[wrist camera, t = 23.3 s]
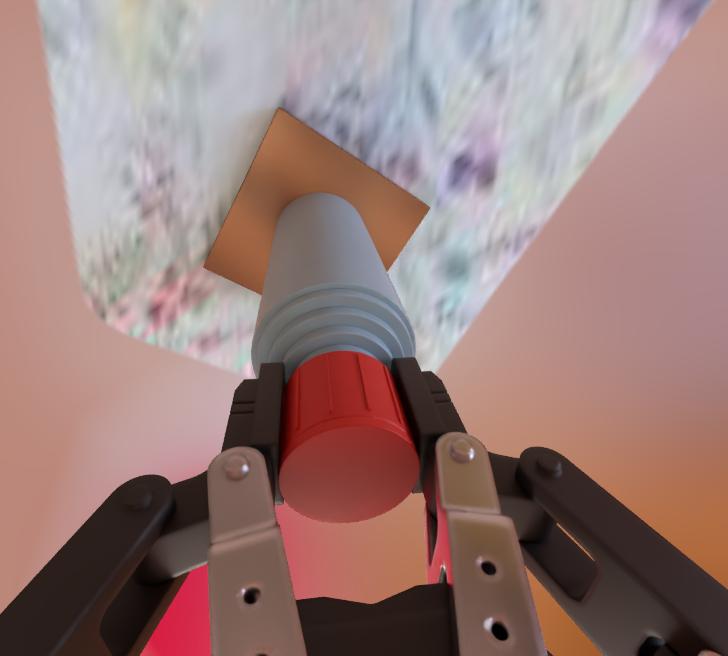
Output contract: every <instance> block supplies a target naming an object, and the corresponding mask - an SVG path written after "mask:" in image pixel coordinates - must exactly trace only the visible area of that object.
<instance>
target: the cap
mask: <svg viewBox="0 0 728 656" xmlns="http://www.w3.org/2000/svg"><path fill="white" fill-rule="evenodd" d="M419 474H420V459H419V456H418V453H417V450H416V447H415V442H414V439H413V436H412V433H411V430H410V427H409V424H408V421H407V418H406V415H405V411H404V408H403V405H402V402H401V399H400V396H399V393H398V390H397V387H396V383H395V380H394V378H393V376H392V374H391V372H390V371H389V370H388V368H387V367H386V366H385V365H384V364H382V363H381V362H380V361H379V360H377V359H375V358H373V357H371V356H369V355H366V354H364V353H360V352H355V351H333V352H328V353H324V354H321V355H318V356H316V357H313V358H311V359H310V360H308V361H306V362H305V363H304V364H302V365H301V366H300V367H298V368H297V369H296V371H295V372H294V373H293V374H292V376H291V377H290V378H289V380H288V382H287V384H286V387H285V390H284V401H283V419H282V436H281V455H280V466H279V471H278V486H279V490H280V493H281V495H282V497H283V498H284V500H285V502H286V503H287V504H288V505H289V506H290V507H291V508H293V509H294V510H295V511H296V512H298V513H300V514H301V515H303V516H306V517H308V518H311V519H314V520H317V521H322V522H328V523H351V522H359V521H363V520H367V519H371V518H374V517H376V516H379V515H381V514H383V513H386V512H388V511H389V510H391V509H392V508H394V507H396V506H397V505H398V504H399V503H401V502H402V501H403V500H404V499H405V498H406V497H407V496H408V495H409V494H410V493H411V492H412V490H413V489H414V487H415V485H416V483H417V481H418V478H419Z"/></svg>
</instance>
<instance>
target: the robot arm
mask: <svg viewBox="0 0 728 656" xmlns="http://www.w3.org/2000/svg"><path fill="white" fill-rule="evenodd" d="M390 372H391V374H392V376H393V378H394V380H395V383H396V387H397V390H398V393H399V396H400V399H401V402H402V405H403V408H404V411H405V415H406V418H407V421H408V424H409V427H410V430H411V433H412V436H413V439H414V442H415V447H416V450H417V453H418V456H419V459H420V474H419V478H418V481H417V483H416V485H415V487H414V489H413V490H412V493H423V494H424V497H425V501H426V503H425V509H424V523H425V524H424V525H425V548H426V571H427V582H426V585H418V586H414V587H413V588H410V589H408V590H405V591H403V592H401V593H398V594H396V595H394V596H391V597H389V598H387V599H385V600H383V601H380V602H378V603H375V604H365V603H360V602H353V601H347V600H341V599H334V598H329V597H318V598H310V599H301V600H295V595H294V591H293V585H292V581H291V576H290V571H289V567H288V561H287V557H286V552H285V547H284V542H283V537H282V533H281V529H280V525H279V524H278V522H277V517H276V512H275V505H282V504H284V498H283V497H282V495H281V493H280V490H279V486H278V471H279V466H280V455H281V436H282V419H283V401H284V390H285V387H286V379H285V365H284V362H277V363H261V365H260V372H259V378H258V379H246V380H243V382H242V383H241V384H240V385H239V386H238V388H237V389H236V390H235V393H234V397H233V402H232V406H231V411H230V415H229V420H228V424H227V429H226V433H225V437H224V443H223V446H222V451H221V453H220V454H219V455H217V456H216V457H215V458H214V459H213V460H212V462H211V463H210V465H209V467H208V470H206V471H205V472H203V473H202V474H200V475H198V476H196V477H193V478H190V479H187V480H184V481H181V482H178V483H175V484H172V485H171V484H170V482H169V481H168V480H167V479H166V478H165V477H162V476H159V475H143V476H139V477H136V478H134V479H131V480H129V481H127V482H126V483H124V484H122V485H121V486H120V487H118V488H117V489H116V490H115V491H114V492H113V493H112V494H111V495H110V496H109V497H108V498H107V499H106V500H105V501H104V503H103V504H102V505H101V506H100V507H99V508H98V509H97V510H96V511H95V512H94V513H93V514H92V516H91V517H90V518H89V519H88V520H87V521H86V522H85V523H84V524H83V525H82V526H81V527H80V529H79V530H78V531H77V532H76V533H75V534H74V535H73V536H72V537H71V538H70V539H69V540H68V541H67V543H66V544H65V545H64V546H63V547H62V548H61V549H60V550H59V551H58V552H57V553H56V554H55V556H54V557H53V558H52V559H51V560H50V561H49V562H48V563H47V564H46V565H45V566H44V567H43V569H42V570H41V571H40V572H39V573H38V574H37V575H36V576H35V577H34V578H33V579H32V581H31V582H30V583H29V584H28V585H27V586H26V587H25V588H24V589H23V590H22V591H21V592H20V593H19V595H18V596H17V597H16V598H15V599H14V600H13V601H12V602H11V603H10V604H9V605H8V606H7V608H6V609H5V610H4V611H3V612H2V613H1V614H0V656H140V654H141V652H142V651H143V649H144V647H145V646H146V644H147V642H148V641H149V639H150V637H151V636H152V634H153V632H154V631H155V629H156V628H157V626H158V624H159V622H160V621H161V619H162V618H163V616H164V614H165V613H166V611H167V609H168V607H169V606H170V604H171V603H172V601H173V599H174V598H175V596H176V594H177V593H178V591H179V589H180V587H181V586H182V584H183V583H184V581H185V579H186V578H187V576H188V574H189V572H190V571H191V570H193V569H196V568H198V567H201V566H203V565H205V564H208V585H209V610H210V636H211V656H553V655H552V654H551V653H550V652H549V651H547V650H546V647H545V643H544V639H543V635H542V631H541V627H540V623H539V620H538V616H537V612H536V608H535V604H534V600H533V596H532V592H531V588H530V584H529V580H528V576H527V572H526V568H525V566H526V567H527V568H528V569H529V570H530V571H531V572H532V574H533V575H534V576H535V577H536V578H537V580H538V581H539V582H540V583H541V584H542V585H543V586H544V588H545V589H546V590H547V591H548V592H549V593H550V594H551V596H552V597H553V598H554V599H555V600H556V602H557V603H558V604H559V605H560V606H561V607H562V608H563V609H564V611H565V612H566V613H567V614H568V615H569V616H570V618H571V619H572V620H573V621H574V622H575V623H576V625H577V626H578V627H579V628H580V629H581V630H582V631H583V633H584V634H585V635H586V636H587V637H588V638H589V639H590V641H591V642H592V643H593V644H594V645H595V646H596V647H597V649H598V650H599V651H600V652H601V653H602V654H603V656H728V590H727V589H726V588H725V587H724V586H722V585H721V584H720V583H719V582H718V581H716V580H715V579H714V578H713V577H711V576H710V575H709V574H708V573H706V572H705V571H704V570H703V569H702V568H700V567H699V566H698V565H697V564H696V563H694V562H693V561H692V560H691V559H689V558H688V557H687V556H686V555H684V554H683V553H682V552H681V551H680V550H678V549H677V548H676V547H675V546H673V545H672V544H671V543H670V542H668V541H667V540H666V539H665V538H664V537H662V536H661V535H660V534H659V533H657V532H656V531H655V530H654V529H652V528H651V527H650V526H648V524H646V523H645V522H644V521H643V520H641V519H640V518H639V517H638V516H637V515H635V514H634V513H633V512H632V511H630V510H629V509H628V508H627V507H625V506H624V505H623V504H622V503H621V502H619V501H618V500H617V499H616V498H614V497H613V496H612V495H611V494H610V493H608V492H607V491H606V490H605V489H603V488H602V487H601V486H600V485H598V484H597V483H596V482H595V481H594V480H592V479H591V478H590V477H589V476H587V475H586V474H585V473H584V472H582V471H581V470H580V469H578V467H576V466H575V465H574V464H573V463H571V462H570V461H569V460H568V459H567V458H565V457H564V456H562V455H561V454H559V453H558V452H556V451H553V450H551V449H548V448H544V447H530V448H527V449H525V450H524V451H523V452H522V453H521V455H520V458H513V457H508V456H503V455H498V454H494V453H491V452H488V451H487V449H486V448H485V446H484V445H483V444H482V442H480V441H479V440H478V439H476V438H475V437H473V436H471V435H469V434H468V433H467V431H466V429H465V427H464V425H463V423H462V421H461V419H460V417H459V415H458V413H457V411H456V409H455V407H454V405H453V403H452V402H451V399H450V397H449V395H448V393H447V390H446V388H445V386H444V384H443V382H442V380H441V379H439V378H438V377H437V376H436V375H435V374H434V373H432V372H431V371H424V372H421V369H420V367H419V365H418V362H417V360H416V358H415V357H404V358H392V361H391V371H390ZM557 523H558V524H559V525H560V526H561V527H562V528H563V529H565V530H566V531H567V532H568V533H569V534H570V535H571V536H572V537H573V538H574V539H575V540H576V541H577V542H578V543H579V544H580V545H581V546H582V547H583V548H584V549H585V550H586V551H587V552H588V553H589V554H590V555H591V557H592V558H593V559H594V561H595V562H594V561H593V560H592V559H591V558H590V557H589V556H588V555H587V554H586V553H585V552H584V551H583V550H582V549H581V548H580V547H579V546H578V545H577V544H576V543H575V542H574V541H573V540H572V539H571V538H570V537H569V536H568V535H566V533H564V532H563V530H561V528H559V527H558V526H557Z"/></svg>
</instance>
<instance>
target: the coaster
mask: <svg viewBox="0 0 728 656" xmlns="http://www.w3.org/2000/svg"><path fill="white" fill-rule="evenodd" d="M319 192H322V193H329V194H334V195H336V196H339V197H341V198H343V199H345V200H346V201H347V202H349V203H350V204H351V205H352V206H353V207H354V208H355V209H356V210H357V211H358V213H359V214H360V216H361V218H362V220H363V222H364V224H365V227H366V229H367V231H368V233H369V235H370V237H371V239H372V241H373V244H374V246H375V248H376V250H377V252H378V254H379V256H380V259H381V261H382V263H383V265H384V267H385V269H386V271H388V270H389V268H390V267H391V266H392V264H393V263H394V261H395V260H396V258H397V257H398V255H399V254H400V252H401V251H402V249H403V248H404V246H405V245H406V243H407V242H408V240H409V239H410V237H411V236H412V234H413V233H414V231H415V230H416V229H417V227H418V226H419V224H420V223H421V221H422V220H423V218H424V217H425V215H426V214H427V212H428V211H429V209H430V207H429V206H428V205H426V204H425V203H423V202H421V201H420V200H418V199H417V198H415V197H414V196H412V195H411V194H409V193H408V192H406V191H405V190H403V189H402V188H400V187H399V186H397V185H396V184H394V183H393V182H391V181H390V180H388V179H387V178H385V177H384V176H382V175H381V174H379V173H378V172H376V171H375V170H373V169H372V168H370V167H369V166H367V165H366V164H364V163H363V162H361V161H360V160H358V159H357V158H355V157H354V156H352V155H351V154H349V153H348V152H346V151H345V150H343V149H342V148H340V147H339V146H337V145H336V144H334V143H333V142H331V141H330V140H328V139H327V138H325V137H324V136H322V135H321V134H319V133H318V132H316V131H315V130H313V129H312V128H310V127H309V126H307V125H306V124H304V123H303V122H301V121H300V120H298V119H297V118H295V117H294V116H292V115H291V114H289V113H288V112H286V111H285V110H283V109H282V108H280V107H279V108H278V110H277V112H276V114H275V116H274V118H273V120H272V122H271V124H270V127H269V129H268V131H267V133H266V135H265V137H264V139H263V141H262V143H261V146H260V148H259V150H258V152H257V154H256V156H255V158H254V160H253V163H252V165H251V167H250V169H249V171H248V173H247V175H246V177H245V179H244V182H243V184H242V186H241V188H240V190H239V192H238V194H237V196H236V199H235V201H234V203H233V205H232V207H231V209H230V211H229V213H228V216H227V218H226V220H225V222H224V224H223V226H222V228H221V230H220V232H219V235H218V237H217V239H216V241H215V243H214V245H213V247H212V249H211V252H210V254H209V256H208V258H207V260H206V262H205V264H204V266H203V268H205V269H207V270H209V271H212V272H214V273H216V274H218V275H220V276H222V277H224V278H226V279H229V280H231V281H233V282H235V283H237V284H239V285H241V286H244V287H246V288H248V289H250V290H252V291H254V292H256V293H258V294H261V295H262V292H263V287H264V282H265V277H266V272H267V268H268V263H269V258H270V253H271V248H272V243H273V238H274V233H275V228H276V224H277V221H278V219H279V217H280V215H281V213H282V212H283V210H284V209H285V208H286V207H287V206H288V205H289V204H290V203H291V202H292V201H294V200H295V199H297V198H299V197H301V196H303V195H306V194H310V193H319Z"/></svg>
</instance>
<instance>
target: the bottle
mask: <svg viewBox="0 0 728 656" xmlns="http://www.w3.org/2000/svg"><path fill="white" fill-rule="evenodd" d="M333 351H355V352H360V353H364V354H366V355H369V356H371V357H373V358H375V359H377V360H379V361H380V362H381V363H382V364H384V365H385V366H386V367H387V368H388V370H389V371H391V361H392V358H404V357H415V352H416V342H415V335H414V331H413V328H412V325H411V323H410V321H409V319H408V316H407V314H406V312H405V310H404V308H403V306H402V304H401V301H400V299H399V297H398V295H397V293H396V291H395V289H394V286H393V284H392V282H391V280H390V278H389V276H388V274H387V271H386V269H385V267H384V265H383V263H382V261H381V259H380V256H379V254H378V252H377V250H376V248H375V246H374V244H373V241H372V239H371V237H370V235H369V233H368V231H367V229H366V227H365V224H364V222H363V220H362V218H361V216H360V214H359V213H358V211H357V210H356V209H355V208H354V207H353V206H352V205H351V204H350V203H349V202H347V201H346V200H345V199H343V198H341V197H339V196H336V195H334V194H329V193H322V192H319V193H310V194H306V195H303V196H301V197H299V198H297V199H295V200H294V201H292V202H291V203H290V204H289V205H288V206H287V207H286V208H285V209H284V210H283V212H282V213H281V215H280V217H279V219H278V221H277V224H276V228H275V233H274V238H273V243H272V248H271V253H270V258H269V263H268V268H267V272H266V277H265V282H264V287H263V292H262V297H261V302H260V307H259V312H258V317H257V322H256V327H255V332H254V337H253V341H252V349H251V357H252V365H253V369H254V372H255V375H256V378H257V379H258V378H259V372H260V365H261V363H277V362H284V365H285V379H286V384H287V382H288V380H289V378H290V377H291V376H292V374H293V373H294V372H295V371H296V369H297V368H298V367H300V366H301V365H302V364H304V363H305V362H306V361H308V360H310V359H311V358H313V357H316V356H318V355H321V354H324V353H328V352H333Z"/></svg>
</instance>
